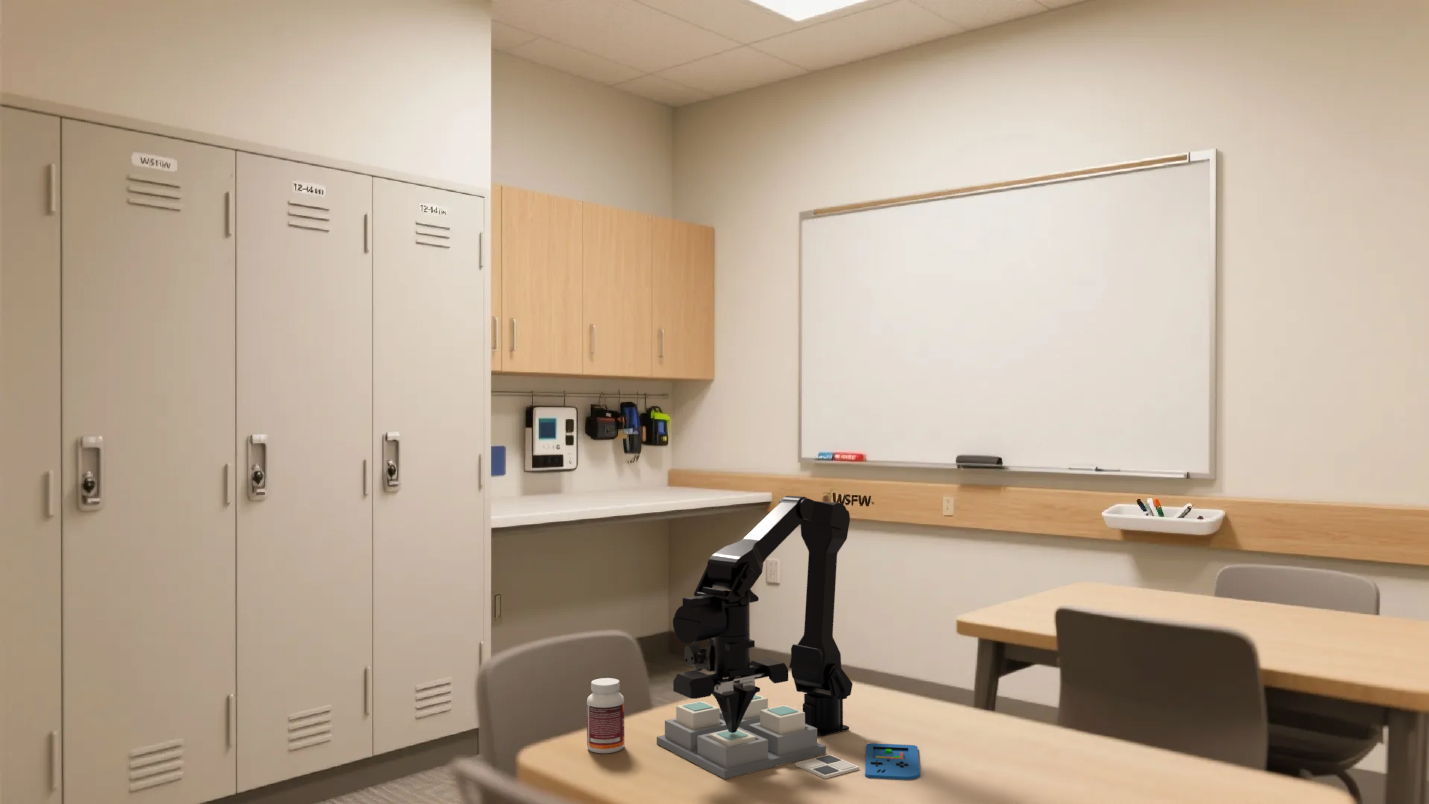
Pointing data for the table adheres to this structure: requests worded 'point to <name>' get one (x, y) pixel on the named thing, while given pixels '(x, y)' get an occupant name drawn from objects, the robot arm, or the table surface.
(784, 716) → the button
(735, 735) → the button
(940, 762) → the table surface
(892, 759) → the handheld gaming device
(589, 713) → the pill bottle
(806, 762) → the card
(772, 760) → the console
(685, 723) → the button
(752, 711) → the button
